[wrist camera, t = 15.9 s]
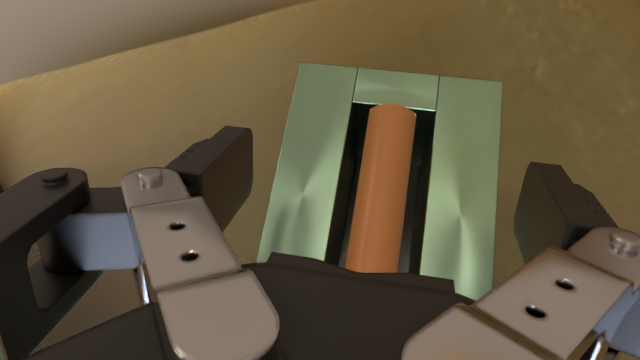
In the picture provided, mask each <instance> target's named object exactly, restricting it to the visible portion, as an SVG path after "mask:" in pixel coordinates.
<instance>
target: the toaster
mask: <svg viewBox="0 0 640 360" xmlns="http://www.w3.org/2000/svg"><path fill="white" fill-rule="evenodd" d="M502 98H503V82H502V81H492V80H481V79H471V78H460V77H450V76H439V75H430V74H420V73H410V72H399V71H389V70H378V69H368V68H357V67H346V66H336V65H325V64H315V63H304V62H300V64H299V69H298V73H297V78H296V82H295V87H294V91H293V96H292V100H291V105H290V109H289V114H288V118H287V123H286V127H285V132H284V137H283V141H282V146H281V150H280V155H279V159H278V164H277V168H276V173H275V177H274V182H273V186H272V191H271V195H270V200H269V204H268V209H267V213H266V218H265V222H264V227H263V231H262V236H261V240H260V245H259V249H258V254H257V258H256V263H263V262H267V260H268V258H269V256H270V254H271V252H278V253H284V254H291V255H297V256H303V257H310V258H315V259H319V260H322V261H325V262H328V263H331V264H334V265H337V266H340V267H343V268H345V264H346V257H347V251H348V245H349V238H350V232H351V226H352V219H353V213H354V206H355V200H356V194H357V187H358V181H359V175H360V168H361V162H362V156H363V149H364V143H365V136H366V130H367V124H368V117H369V112H370V109H371V108H373V107H375V106H377V105H381V104H396V105H401V106H404V107H407V108H409V109H410V110H412V111H413V112H414V113H416V122H415V131H414V139H413V147H412V156H411V164H410V172H409V181H408V189H407V197H406V206H405V214H404V223H403V231H402V239H401V248H400V256H399V264H398V273H413V274H419V275H426V276H432V277H439V278H445V279H452V280H454V286H455V293H458V294H461V295H464V296H466V297H469V298H471V299H473V300H475V301H477V300H478V299H479V298H481V297H482V296H483V295H485V294H486V293H487V292H489V291H490V290H491V289H492V287H493V268H494V249H495V230H496V211H497V192H498V174H499V155H500V136H501V117H502Z"/></svg>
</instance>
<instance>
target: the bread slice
mask: <svg viewBox="0 0 640 360" xmlns="http://www.w3.org/2000/svg"><path fill="white" fill-rule="evenodd" d="M415 122H416V113H414V112H413V111H412V110H410V109H409V108H407V107H404V106H401V105H396V104H381V105H377V106H375V107H373V108H371V109H370V112H369V117H368V124H367V130H366V136H365V143H364V149H363V156H362V162H361V168H360V175H359V181H358V187H357V194H356V200H355V206H354V213H353V219H352V226H351V232H350V238H349V245H348V251H347V257H346V264H345V268H346V269H349V270H352V271H356V272H362V273H398V264H399V256H400V248H401V239H402V231H403V223H404V214H405V206H406V197H407V189H408V181H409V172H410V164H411V156H412V147H413V139H414V131H415Z"/></svg>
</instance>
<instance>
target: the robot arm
mask: <svg viewBox="0 0 640 360" xmlns="http://www.w3.org/2000/svg"><path fill="white" fill-rule="evenodd" d="M252 183H253V136H252V131H251V129H249V128H241V127H233V126H225V127H224V128H222V129H221V130H220V131H219V132H218V133H216V134H215V135H214V136H213V137H212V138H210V139H206V140H203V141H200V142H197V143H195V144H193V145H192V146H190V147H189V148H188V149H187V150H185V152H183V153H182V154H181V155H179V157H177V158H176V159H174V160H173V161H172V162H171V163H169V164H168V165H167V166H166V167H164V168H163V167H147V168H141V169H137V170H134V171H131V172H129V173H127V174H125V175H124V176H123V177H122V178H121V180H120V184H121V187H114V188H89V184H88V178H87V174H86V173H85V172H84V171H82V170H80V169H75V168H53V169H48V170H44V171H40V172H37V173H35V174H32V175H30V176H28V177H27V178H25V179H23V180H22V181H20V182H18V183H17V184H15V185H13V186H12V187H10V188H9V189H7V190H5V191H4V192H1V189H0V360H618V359H619V357H620V355H621V353H622V352H623V353H626V354H629V355H631V356H634V357H637V358H640V235H639V234H637V233H634V232H631V231H628V230H625V229H620V228H619V227H618V226H617V225H616V223H615V222H614V221H613V219H612V218H611V217H610V216H609V214H607V213H606V210H605V209H604V208H603V206H602V205H600V202H599V201H598V200H597V198H596V197H595V196H594V194H593V193H591V192H590V191H588V190H586V189H585V188H583V187H582V186H580V185H579V184H573V182H572V181H571V179H570V178H569V177H568V175H567V174H566V172H565V171H564V169H563V168H562V167H561V166H560V165H555V164H546V163H537V162H531V163H530V164H529V165H528V168H527V170H526V174H525V177H524V181H523V185H522V189H521V193H520V196H519V200H518V204H517V208H516V212H515V216H514V234H515V237H516V240H517V243H518V246H519V249H520V251H521V254H522V257H523V260H524V263H525V264H524V265H523V266H522V267H520V268H519V269H518V270H516V271H515V272H514V273H512V274H511V275H510V276H508V277H507V278H506V279H504V280H503V281H502V282H500V283H499V284H498V285H497V286H495V287H494V288H493V289H491V290H490V291H489V292H487V293H486V294H485V295H483V296H482V297H481V298H479V299H478V300H477V301H475V300H473V299H471V298H469V297H466V296H464V295H461V294H458V293H455V286H454V280H452V279H445V278H439V277H432V276H426V275H419V274H413V273H362V272H356V271H352V270H349V269H346V268H343V267H340V266H337V265H334V264H331V263H328V262H325V261H322V260H319V259H315V258H310V257H303V256H297V255H291V254H284V253H278V252H271V254H270V256H269V258H268V260H267V262H263V263H250V264H244V265H240V263H239V261H238V259H237V258H236V256H235V254H234V252H233V251H232V249H231V247H230V245H229V244H228V242H227V240H226V238H225V237H224V235H223V233H222V232H223V231H224V230H225V228H226V227H227V225H228V224H229V223H230V221H231V220H232V219H233V217H234V216H235V214H236V213H237V212H238V210H239V209H240V208H241V206H242V205H243V203H244V202H245V201H246V199H247V198H248V196H249V195H250V192H251V188H252ZM36 241H37V242H38V246H39V250H40V254H41V260H39V261H38V262H37V263H36V264H35V265H34V266H32V267H31V268H30V269H29V270H28V267H27V257H28V253H29V251H30V248H31V247H32V245H33V244H34V243H35V242H36ZM117 269H132V270H133V277H134V281H135V286H136V290H137V294H138V299H139V303H140V307H138V308H136V309H133V310H131V311H129V312H126V313H124V314H122V315H120V316H117V317H115V318H113V319H111V320H108V321H106V322H104V323H101V324H99V325H97V326H95V327H92V328H90V329H88V330H86V331H83V332H81V333H79V334H77V335H74V336H72V337H70V338H67V339H65V340H63V341H61V342H58V343H56V344H54V345H52V346H49V347H47V348H45V349H42V350H40V351H38V352H36V353H33V354H31V355H29V354H30V353H31V352H32V351H33V350H34V349H35V347H36V346H37V345H38V344H39V343H40V342H41V341H42V340H43V339H44V338H45V336H46V335H47V334H48V333H49V332H50V331H51V330H52V329H53V328H54V327H55V325H56V324H57V323H58V322H59V321H60V320H61V319H62V318H63V317H64V316H65V314H66V313H67V312H68V311H69V310H70V309H71V308H72V307H73V306H74V304H75V303H76V302H77V301H78V300H79V299H80V298H81V297H82V296H83V295H84V293H85V292H86V291H87V290H88V289H89V288H90V287H91V286H92V285H93V284H94V282H95V281H96V280H97V279H98V278H99V277H100V276H101V274H102V272H103V270H117ZM28 355H29V356H28Z"/></svg>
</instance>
